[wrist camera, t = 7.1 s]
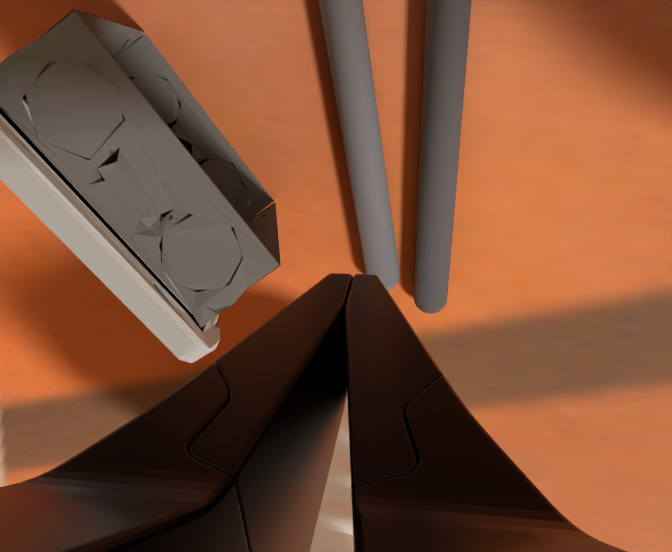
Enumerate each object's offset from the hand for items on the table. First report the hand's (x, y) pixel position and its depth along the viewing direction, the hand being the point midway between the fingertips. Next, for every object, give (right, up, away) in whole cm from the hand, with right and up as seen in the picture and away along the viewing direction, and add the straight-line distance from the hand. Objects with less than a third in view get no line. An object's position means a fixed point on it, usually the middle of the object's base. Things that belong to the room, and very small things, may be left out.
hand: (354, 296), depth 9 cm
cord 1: (0, +7, +10) cm, 12 cm away
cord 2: (+3, +6, +10) cm, 12 cm away
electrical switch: (-6, +6, +11) cm, 14 cm away
